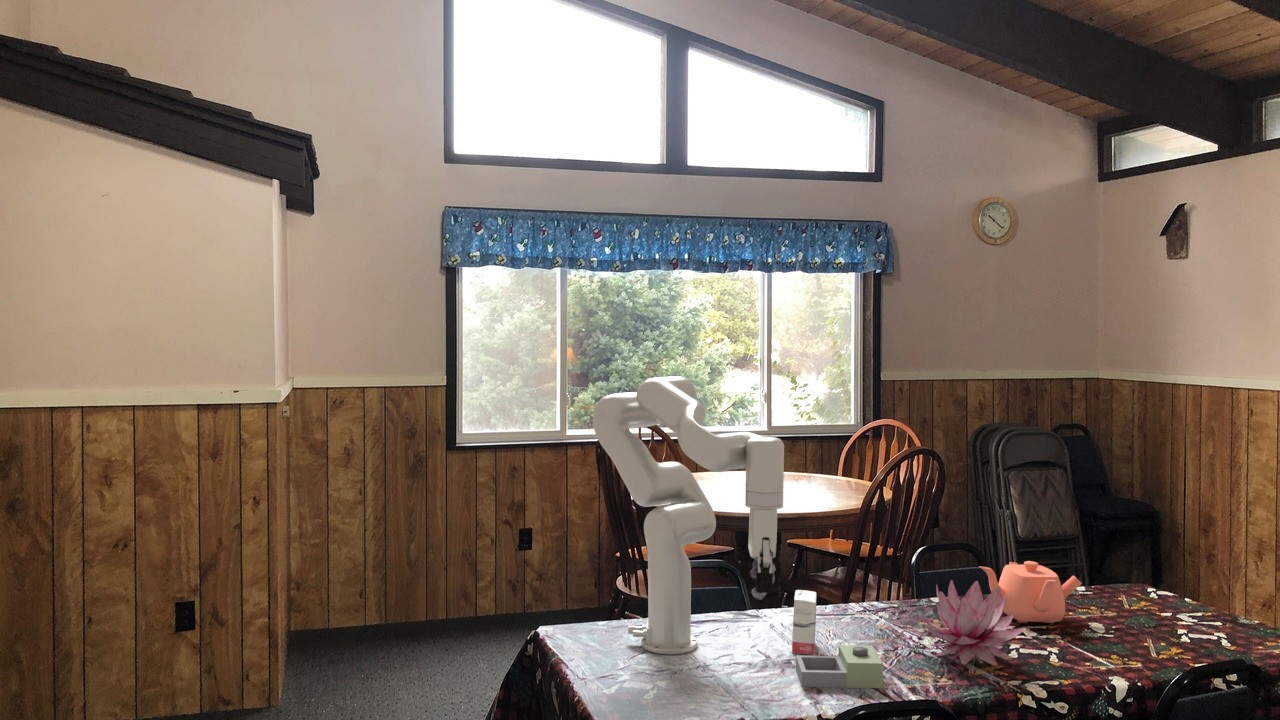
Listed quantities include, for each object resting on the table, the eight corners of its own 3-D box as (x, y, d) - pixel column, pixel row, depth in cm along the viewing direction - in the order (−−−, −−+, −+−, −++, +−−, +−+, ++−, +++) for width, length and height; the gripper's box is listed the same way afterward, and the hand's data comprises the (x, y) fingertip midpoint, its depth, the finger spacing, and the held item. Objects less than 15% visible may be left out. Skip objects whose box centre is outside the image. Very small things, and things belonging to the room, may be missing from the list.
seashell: (747, 595, 190) (747, 546, 189) (772, 594, 190) (773, 546, 190) (752, 603, 185) (753, 553, 184) (778, 603, 185) (779, 553, 184)
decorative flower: (946, 633, 216) (947, 569, 216) (1039, 657, 201) (1040, 589, 200) (899, 656, 201) (900, 588, 201) (995, 685, 186) (996, 610, 185)
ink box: (815, 655, 202) (816, 601, 201) (791, 653, 203) (792, 600, 202) (815, 642, 210) (816, 590, 210) (793, 640, 211) (793, 588, 211)
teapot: (1053, 636, 215) (1055, 577, 214) (977, 617, 228) (978, 562, 227) (1083, 618, 228) (1084, 562, 227) (1008, 601, 241) (1010, 549, 240)
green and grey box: (801, 686, 185) (801, 657, 184) (795, 667, 195) (795, 639, 194) (882, 688, 184) (883, 658, 184) (872, 669, 194) (872, 640, 194)
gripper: (742, 490, 195) (741, 575, 196) (748, 507, 178) (747, 600, 179) (778, 490, 195) (777, 576, 196) (788, 508, 178) (786, 601, 179)
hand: (762, 586), depth 187 cm, fingers closed on seashell, 5 cm apart
